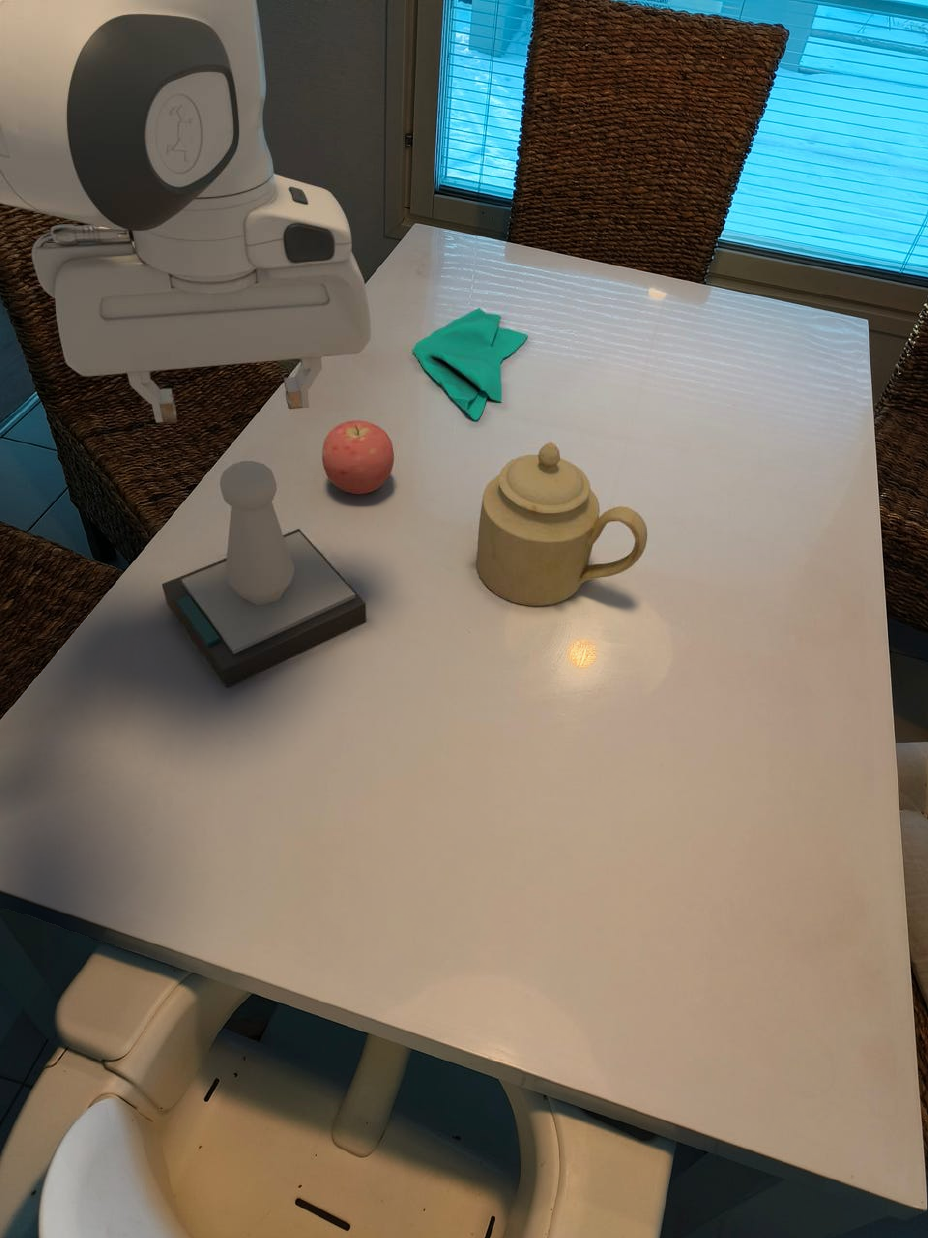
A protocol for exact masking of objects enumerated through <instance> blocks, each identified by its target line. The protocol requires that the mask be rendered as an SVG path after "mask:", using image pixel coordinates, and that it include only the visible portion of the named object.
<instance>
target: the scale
mask: <svg viewBox="0 0 928 1238" xmlns="http://www.w3.org/2000/svg"><path fill="white" fill-rule="evenodd" d="M283 536H284V539H285V542H286V545H287V548H288V551H289V554H290V557H291V560H292V563H293V566H294V573H293V576H292V579H291V582H290V584H289V585H288V587H287V588H286V590H285V591H284V593H283V594H282V596H281V597H280V599H279V601H277V602H272V603H268V604H263V605H259V606H257V605H255V604H253V603H251V602H249V601H247V600H245V599H243V598H241V597H240V596H239V594H238V593H237V592H236V591H235V590H234V589H233V588H232V587H231V586H230V584H229V582H228V579H227V575H226V561H227V557H225V558H222V559H221V560H218V561H216V562H213V563H210V564H208V565H205V566H203V567H201V568H198V569H195V570H193V571H191V572H189V573H186V574H184V575H181V576H177V577H176V578H174V579H171V580H169V581H166V582H164V583H161V587H162V591H163V594H164V597H165V602H166V604H167V605H168V607H169V608H170V610H171V611H172V612H173V614H174V615H175V617H176V618H177V620H178V621H179V623H180V624H181V625H182V627H183V628H184V630H185V631H186V632H187V634H188V635H189V637H190V638H191V640H192V642H194V644H195V645H196V647H197V648H198V649H199V651H200V652H201V654H202V655H203V657H204V659H205V660H206V661H207V662H208V665H209V666H210V667H211V668H212V670H213V671H214V673H215V674H216V675H217V677H218V678H219V680H220V681H221V682H222V684H223V685H224V687H225V688H226V689H228V688H230V687H232V686H235V685H236V684H238V683H241V682H243V681H245V680H247V679H249V678H251V677H254V676H255V675H257V674H260V673H262V672H264V671H266V670H267V669H269V668H272V667H274V666H277V665H278V664H280V663H283V662H284V661H287V660H289V659H290V658H293V657H294V656H297V655H299V654H301V653H303V652H304V651H307V650H309V649H311V648H313V647H315V646H318V645H320V644H322V643H324V642H326V641H328V640H331V639H332V638H334V637H336V636H338V635H340V634H343V633H344V632H347V631H349V630H350V629H353V628H356V627H357V626H360V625H361V624H363V623H366V622H367V605H366V601H365V600H364V599H363V598H362V597H361V596H360V595H359V594H358V592H356V590H355V589H353V587H352V586H351V585H350V584H349V583H348V582H347V580H346V579H345V578H344V577H343V576H342V574H340V572H338V570H337V569H336V568H335V567H334V566H333V565H332V564H331V563H330V562H329V560H328V559H327V558H326V557H325V556H324V554H322V553H321V551H320V550H319V549H318V548H317V547H316V546H315V544H314V543H312V541H311V540H310V539H309V538H308V537H307V536H306V534H304V532H303V531H302V530H301V529H300V528H297V529H294V530H292V531H289V532H287V533H285V534H283Z"/></svg>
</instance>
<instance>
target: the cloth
mask: <svg viewBox="0 0 928 1238" xmlns="http://www.w3.org/2000/svg"><path fill="white" fill-rule="evenodd" d="M500 320H501V315H500V314H496V313H486V312H485V311H484V310H482V308H480V307H478V308H476V309H474V310H472V311H470V312H467V313H466V314H465V315H463V316H461V317H459V318H456V319H453V320H452V321H450V322H449V323H448V324H446V325H445V326H442V327H439V328H438V329H436V330H434V331H433V332H432V333H431V334H430V335H428V336H426V337H424V338H422V339H421V340H419V341H417V342H416V344H415V345H414V346H413V348H412V352H413V354H414V355H415V357H416V358H417V360H418V362H419V363H420V366H421V367H422V368H423V369H424V370H425V371H426V373H428V374H429V376H431V378H433V380H434V381H436V383H437V384H438V385H440V386H441V388H443V389H445V391H446V393H447V394H448V397H450V398H451V399H452V400H453V401H454V402H455V403H456V404H457V405H458V406H459V407H460V409H462V410H463V411H464V412H465V413H466V414H467V415H468V416H469V417H470V418H471V419H472V420H473V421H478V420H479V419H480V417H481V416H482V414H483V412H484V408H485V405H486V403H487V399H488V398H489V399H490V400H492V401H495V402H497V403H502V398H503V397H502V365H501V363H502V362H503V360H504V359H506V358H508V357H510V356H511V355H513V354H514V353H515V352H516V351H517V350H518V349H519V348H520V347H521V346H522V345H523V344H524V342H525V341H526V340H527V338H528V337H529V335H528V334H526V333H524V332H521V331H517V330H514V329H510V328H504V327H499V324H500Z"/></svg>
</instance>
